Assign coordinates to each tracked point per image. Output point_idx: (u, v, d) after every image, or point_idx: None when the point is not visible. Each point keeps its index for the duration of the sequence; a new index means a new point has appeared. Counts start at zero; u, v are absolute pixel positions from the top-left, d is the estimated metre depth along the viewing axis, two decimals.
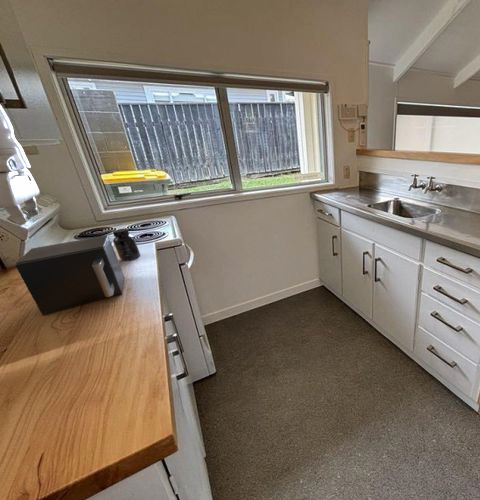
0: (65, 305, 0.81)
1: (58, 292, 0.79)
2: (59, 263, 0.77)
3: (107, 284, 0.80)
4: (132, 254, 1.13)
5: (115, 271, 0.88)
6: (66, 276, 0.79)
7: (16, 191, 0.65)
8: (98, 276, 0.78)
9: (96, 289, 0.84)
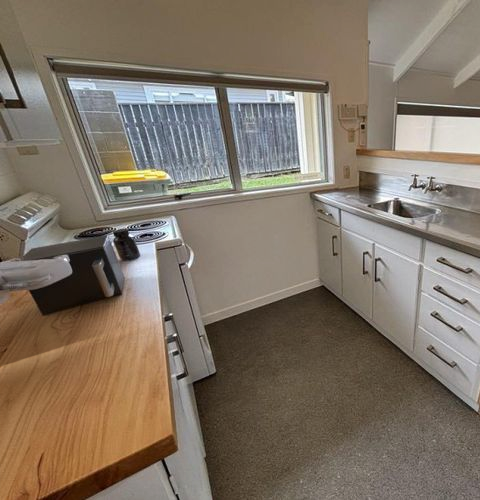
0: (65, 305, 0.81)
1: (58, 292, 0.79)
2: None
3: (107, 284, 0.80)
4: (132, 254, 1.13)
5: (115, 271, 0.88)
6: None
7: None
8: (98, 276, 0.78)
9: (96, 289, 0.84)
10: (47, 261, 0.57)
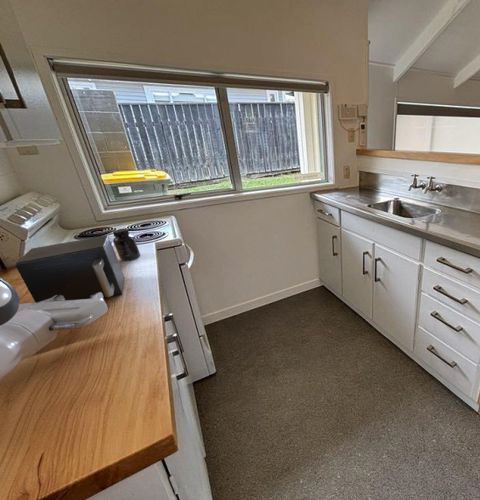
0: None
1: (58, 292, 0.79)
2: (59, 263, 0.77)
3: (107, 284, 0.80)
4: (132, 254, 1.13)
5: (115, 271, 0.88)
6: (66, 276, 0.79)
7: None
8: (98, 276, 0.78)
9: (96, 289, 0.84)
10: (87, 301, 0.66)
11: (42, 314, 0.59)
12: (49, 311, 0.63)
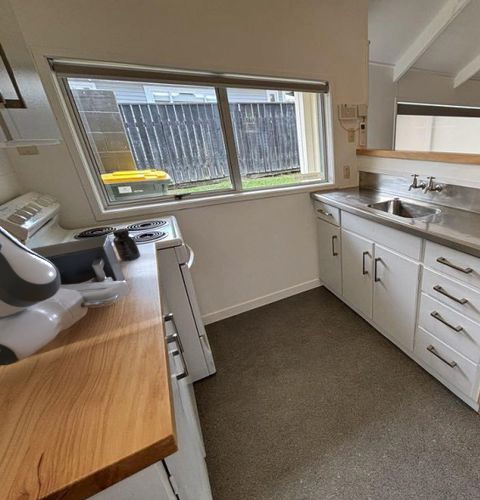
0: None
1: None
2: (59, 263, 0.77)
3: None
4: (132, 254, 1.13)
5: (115, 271, 0.88)
6: (66, 276, 0.79)
7: None
8: (98, 276, 0.78)
9: None
10: (112, 283, 0.74)
11: (75, 293, 0.67)
12: (79, 291, 0.71)
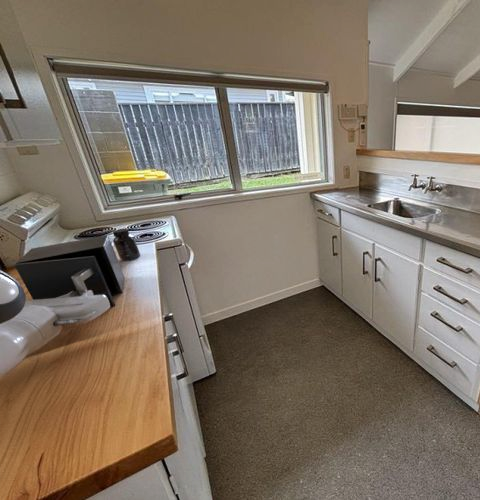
0: None
1: (54, 296, 0.77)
2: (52, 268, 0.74)
3: None
4: (132, 254, 1.13)
5: (115, 271, 0.88)
6: (60, 282, 0.76)
7: None
8: (77, 288, 0.72)
9: None
10: (90, 298, 0.67)
11: (46, 310, 0.61)
12: (53, 307, 0.64)
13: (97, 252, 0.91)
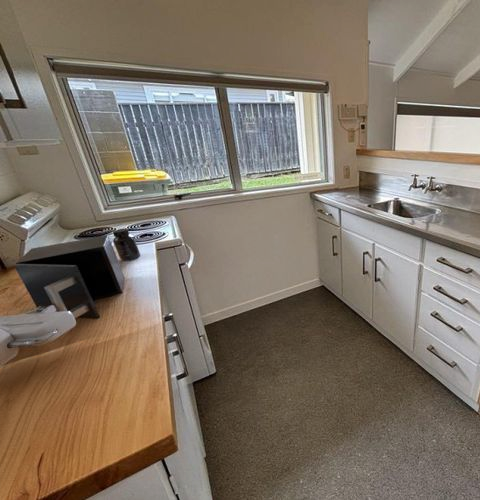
0: None
1: (47, 299, 0.76)
2: (42, 272, 0.72)
3: (60, 310, 0.69)
4: (132, 254, 1.13)
5: (115, 271, 0.88)
6: None
7: None
8: (50, 300, 0.67)
9: (75, 306, 0.75)
10: (53, 315, 0.61)
11: (0, 330, 0.55)
12: (10, 326, 0.58)
13: (97, 252, 0.91)
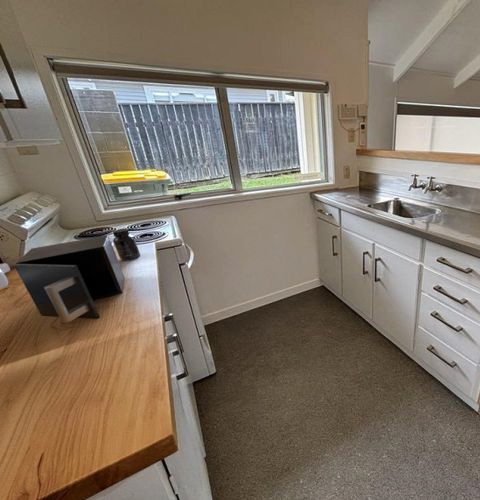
0: (55, 312, 0.77)
1: (47, 299, 0.76)
2: (42, 272, 0.72)
3: (60, 310, 0.69)
4: (132, 254, 1.13)
5: (115, 271, 0.88)
6: None
7: None
8: (50, 300, 0.67)
9: (75, 306, 0.75)
10: None
11: None
12: None
13: (97, 252, 0.91)
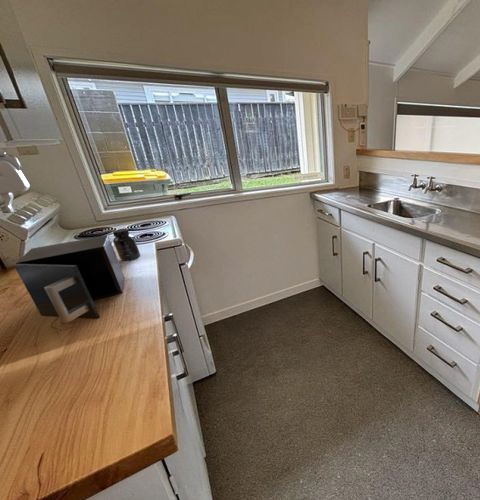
0: (55, 312, 0.77)
1: (47, 299, 0.76)
2: (42, 272, 0.72)
3: (60, 310, 0.69)
4: (132, 254, 1.13)
5: (115, 271, 0.88)
6: None
7: None
8: (50, 300, 0.67)
9: (75, 306, 0.75)
10: None
11: None
12: None
13: (97, 252, 0.91)
